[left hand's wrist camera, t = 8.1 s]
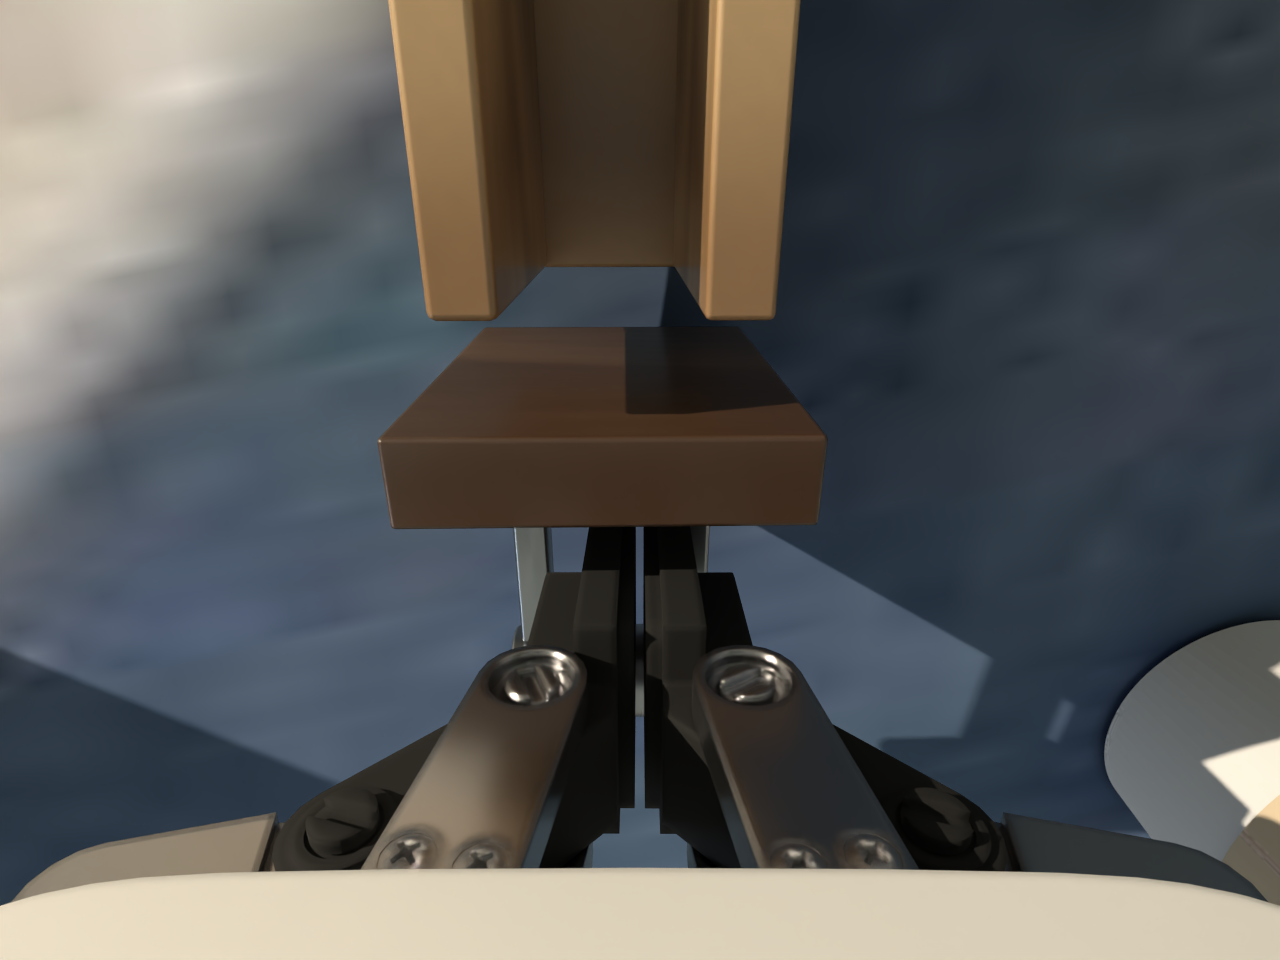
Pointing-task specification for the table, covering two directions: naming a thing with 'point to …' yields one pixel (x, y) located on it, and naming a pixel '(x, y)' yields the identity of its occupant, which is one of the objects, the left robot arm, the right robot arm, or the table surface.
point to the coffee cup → (1208, 750)
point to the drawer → (599, 237)
